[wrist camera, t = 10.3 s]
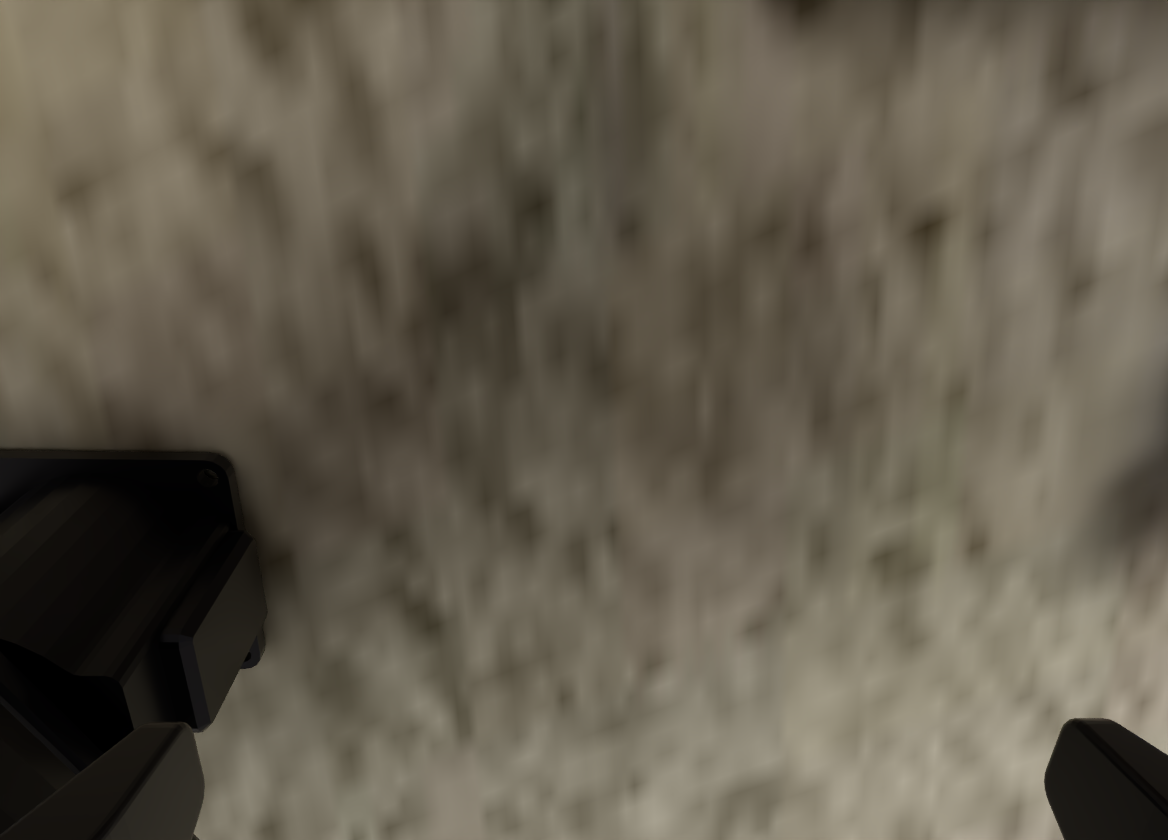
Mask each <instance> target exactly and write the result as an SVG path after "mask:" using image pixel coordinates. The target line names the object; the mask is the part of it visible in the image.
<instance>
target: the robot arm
mask: <svg viewBox="0 0 1168 840" xmlns="http://www.w3.org/2000/svg"><path fill="white" fill-rule="evenodd" d="M204 469H208V470H212V471H213V472H214V473H216V475H217V477H218V479H216V480H215V479H211V478H209V477H208V476H206V475H205V473H204V471H203V470H204ZM266 616H267V607H266V601H265V595H264V589H263V584H262V578H261V572H260V566H259V560H258V554H257V549H256V543H255V539H254V538H253V536H252V535H251V534H250V533H249V532H248V531H247V530H245V528H244V522H243V517H242V511H241V505H240V500H239V494H238V488H237V483H236V477H235V471H234V468H233V466H232V464H231V463H230V462H229V461H228V459H227V458H225V457H223V456H221V455H220V454H216V453H200V452H110V451H20V450H0V840H199V839H198V838H197V837H196V836H195V835H194V834H193V833H194V830H195V827H196V823H197V820H198V817H199V813H200V810H201V807H202V803H203V798H204V789H205V783H204V776H203V771H202V767H201V763H200V759H199V755H198V751H197V746H196V742H195V738H194V734H193V732H203V731H204V730H205V729H207V728H208V727H209V726H210V725H211V724H212V723H213V721H214V719H215V717H216V715H217V713H218V711H219V709H220V707H221V705H222V703H223V701H224V699H225V697H226V695H227V693H228V691H229V689H230V688H231V686H232V684H233V682H234V680H235V678H236V676H237V674H238V672H239V670H240V669H246V668H252V667H254V666H255V665H257V664H258V662H259V661H260V659H261V657H262V655H263V653H264V651H265V641H264V635H263V630H262V624H263V622H264V620H265V618H266ZM249 651H250V652H249ZM1044 783H1045V791H1046V795H1047V798H1048V801H1049V804H1050V806H1051V809H1052V811H1053V813H1054V816H1055V818H1056V821H1057V823H1058V826H1059V828H1060V830H1061V833H1062V835H1063V838H1064V840H1168V755H1167V754H1165V753H1163V752H1162V751H1160V750H1159V749H1157V748H1156V747H1154V746H1152V745H1151V744H1149V743H1148V742H1146V741H1145V740H1143V739H1142V738H1140V737H1138V736H1137V735H1135V734H1134V733H1132V732H1131V731H1129V730H1127V729H1126V728H1124V727H1123V726H1121V725H1120V724H1118V723H1116V722H1114V721H1112V720H1109V719H1104V718H1074V719H1070V720H1069V721H1067V722H1066V723H1065V724H1064V725H1063V727H1062V729H1061V731H1060V734H1059V737H1058V739H1057V742H1056V745H1055V747H1054V750H1053V753H1052V755H1051V758H1050V761H1049V763H1048V766H1047V769H1046V772H1045V779H1044Z"/></svg>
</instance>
